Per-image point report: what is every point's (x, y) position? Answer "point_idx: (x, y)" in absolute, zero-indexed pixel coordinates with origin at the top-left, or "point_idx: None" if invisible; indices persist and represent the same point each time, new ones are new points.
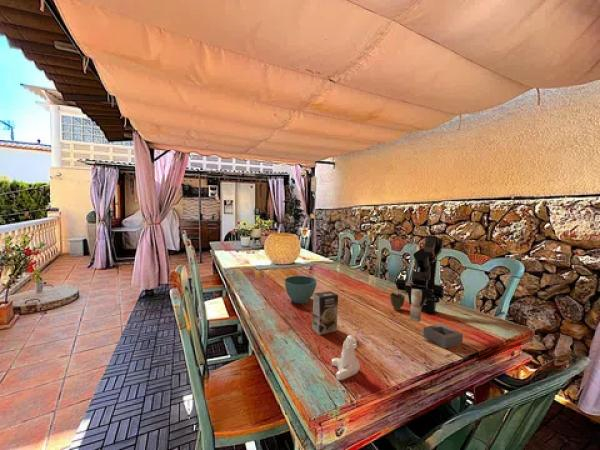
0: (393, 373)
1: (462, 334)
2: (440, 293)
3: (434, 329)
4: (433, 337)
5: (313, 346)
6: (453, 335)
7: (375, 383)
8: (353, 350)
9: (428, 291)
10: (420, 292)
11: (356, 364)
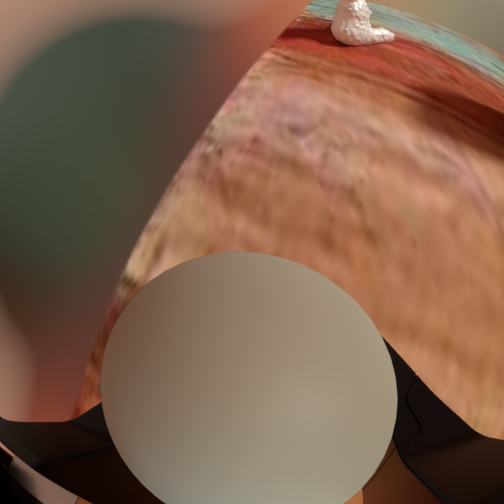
0: (277, 71)
1: (98, 386)
2: (2, 461)
3: None
4: None
5: (465, 69)
6: None
7: (292, 40)
8: (344, 2)
9: (29, 428)
10: (125, 321)
11: (333, 20)
